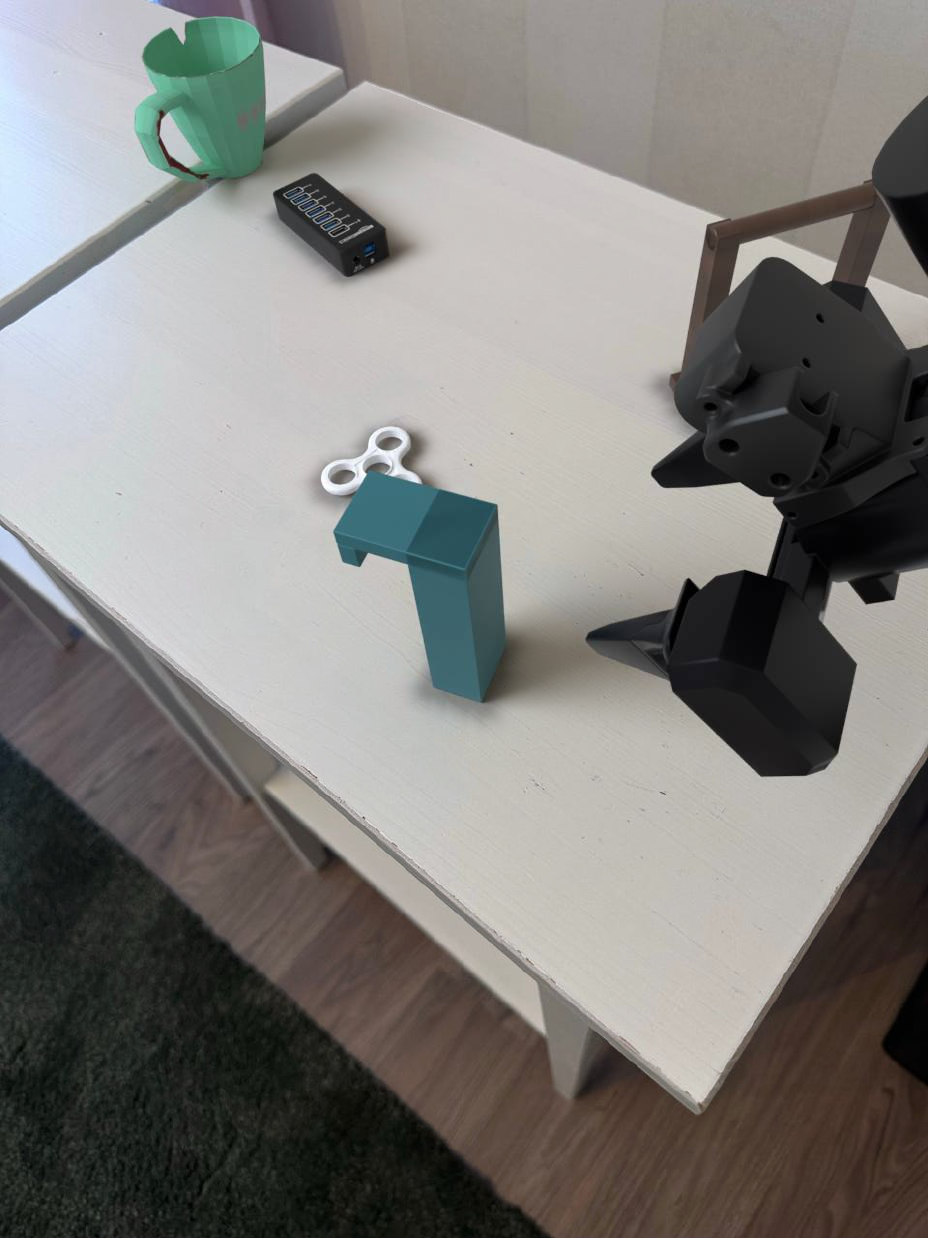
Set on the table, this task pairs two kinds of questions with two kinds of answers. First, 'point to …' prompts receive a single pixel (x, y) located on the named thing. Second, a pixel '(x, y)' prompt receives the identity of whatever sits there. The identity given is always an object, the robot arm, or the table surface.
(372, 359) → the table surface
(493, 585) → the teal angular block
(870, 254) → the rack
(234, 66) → the mug
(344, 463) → the fidget spinner
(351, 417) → the table surface
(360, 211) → the multiport hub
